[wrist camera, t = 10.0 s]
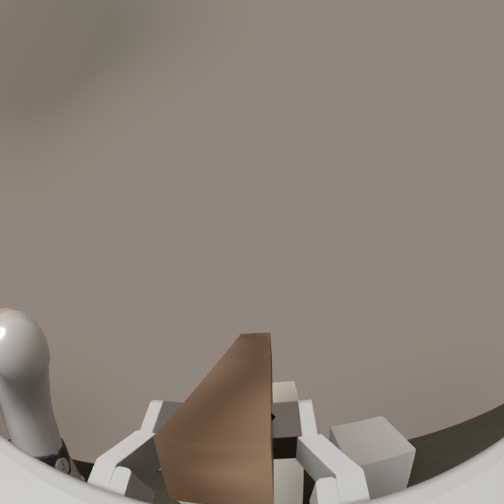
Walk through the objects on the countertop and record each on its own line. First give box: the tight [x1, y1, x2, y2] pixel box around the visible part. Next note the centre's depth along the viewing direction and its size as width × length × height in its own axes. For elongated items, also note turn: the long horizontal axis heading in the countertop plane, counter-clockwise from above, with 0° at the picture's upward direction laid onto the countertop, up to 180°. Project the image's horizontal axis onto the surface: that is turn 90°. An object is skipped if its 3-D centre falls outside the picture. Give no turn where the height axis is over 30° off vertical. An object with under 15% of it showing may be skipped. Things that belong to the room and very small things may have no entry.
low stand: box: [329, 416, 416, 500], centre depth 30 cm, size 10×14×16 cm
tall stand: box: [272, 381, 304, 504], centre depth 33 cm, size 10×14×26 cm
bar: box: [154, 333, 274, 504], centre depth 16 cm, size 3×22×2 cm, turn 176°
